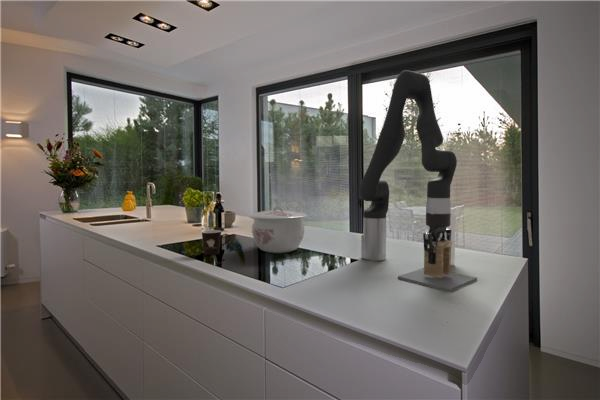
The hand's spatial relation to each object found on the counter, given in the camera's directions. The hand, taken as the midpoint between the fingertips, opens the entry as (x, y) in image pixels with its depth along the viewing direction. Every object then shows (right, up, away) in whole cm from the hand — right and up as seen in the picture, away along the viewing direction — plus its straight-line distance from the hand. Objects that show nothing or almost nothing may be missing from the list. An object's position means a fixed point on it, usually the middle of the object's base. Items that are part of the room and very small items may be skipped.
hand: (437, 261), depth 115 cm
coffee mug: (-84, -4, +41) cm, 93 cm away
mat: (0, -6, 0) cm, 6 cm away
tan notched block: (0, -4, 0) cm, 4 cm away
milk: (+10, -5, +21) cm, 24 cm away
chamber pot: (-55, -3, +48) cm, 73 cm away
